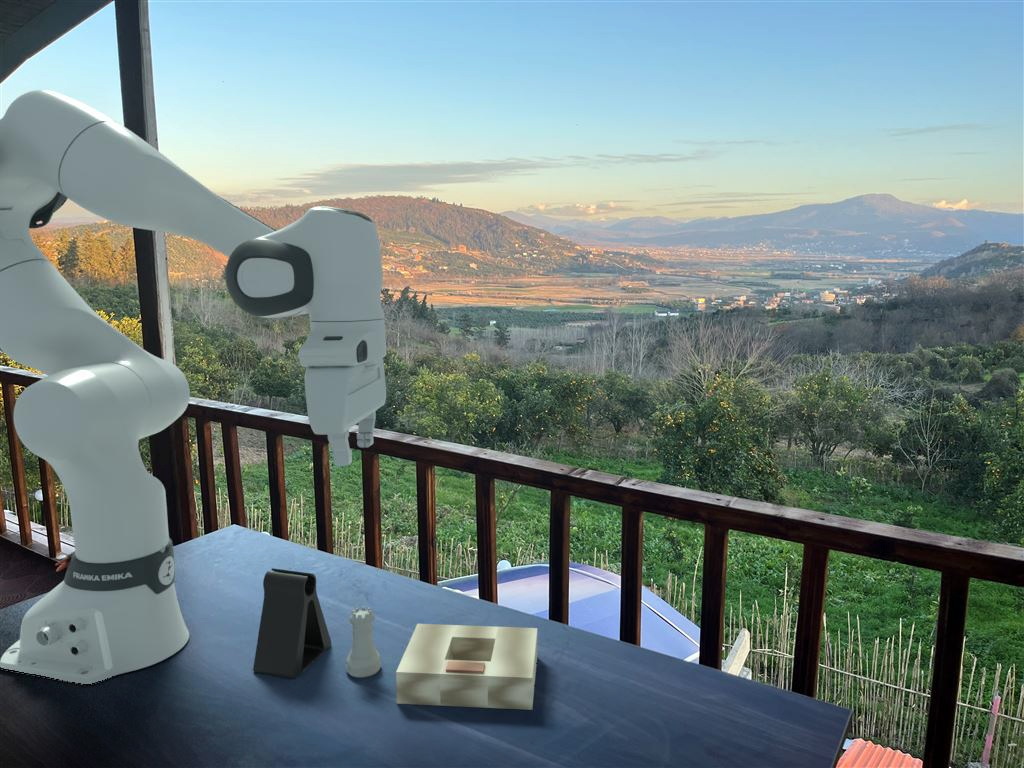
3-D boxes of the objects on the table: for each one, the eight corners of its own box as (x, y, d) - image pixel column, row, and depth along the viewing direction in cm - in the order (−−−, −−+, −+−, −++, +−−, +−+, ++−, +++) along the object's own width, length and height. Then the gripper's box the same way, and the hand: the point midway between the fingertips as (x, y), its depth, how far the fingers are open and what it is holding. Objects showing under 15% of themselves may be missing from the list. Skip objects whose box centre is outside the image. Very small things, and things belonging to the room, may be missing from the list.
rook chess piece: (373, 681, 91) (371, 620, 90) (340, 677, 92) (337, 617, 90) (386, 662, 95) (384, 604, 94) (354, 659, 96) (352, 601, 95)
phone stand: (293, 639, 101) (289, 557, 100) (331, 645, 100) (328, 562, 98) (252, 672, 93) (247, 583, 91) (293, 680, 91) (289, 589, 89)
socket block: (396, 703, 86) (396, 669, 85) (418, 651, 98) (417, 621, 97) (532, 709, 85) (532, 675, 84) (537, 656, 97) (537, 626, 96)
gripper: (349, 336, 99) (354, 436, 101) (292, 352, 79) (300, 477, 81) (395, 336, 98) (399, 436, 100) (349, 352, 78) (356, 477, 80)
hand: (355, 455), depth 90 cm, fingers open, 8 cm apart
